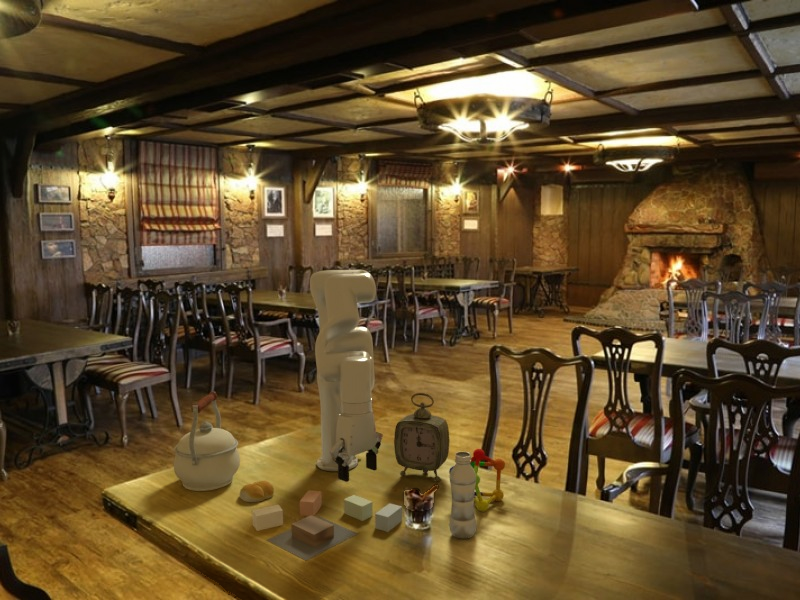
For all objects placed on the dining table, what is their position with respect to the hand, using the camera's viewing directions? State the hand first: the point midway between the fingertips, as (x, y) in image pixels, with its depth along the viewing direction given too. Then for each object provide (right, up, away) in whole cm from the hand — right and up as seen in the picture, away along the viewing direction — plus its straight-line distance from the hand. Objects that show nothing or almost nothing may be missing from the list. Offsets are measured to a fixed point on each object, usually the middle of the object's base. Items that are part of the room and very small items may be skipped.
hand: (357, 474), depth 158 cm
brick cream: (-22, -13, -3) cm, 25 cm away
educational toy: (+31, -11, +11) cm, 34 cm away
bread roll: (-29, -11, +16) cm, 35 cm away
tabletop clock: (+17, -9, +29) cm, 35 cm away
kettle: (-45, -9, +28) cm, 54 cm away
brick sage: (0, -12, +2) cm, 12 cm away
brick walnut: (-10, -12, -9) cm, 18 cm away
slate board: (-10, -13, -9) cm, 19 cm away
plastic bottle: (+25, -13, -7) cm, 29 cm away
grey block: (+8, -12, -3) cm, 15 cm away
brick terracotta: (-12, -12, +5) cm, 18 cm away
